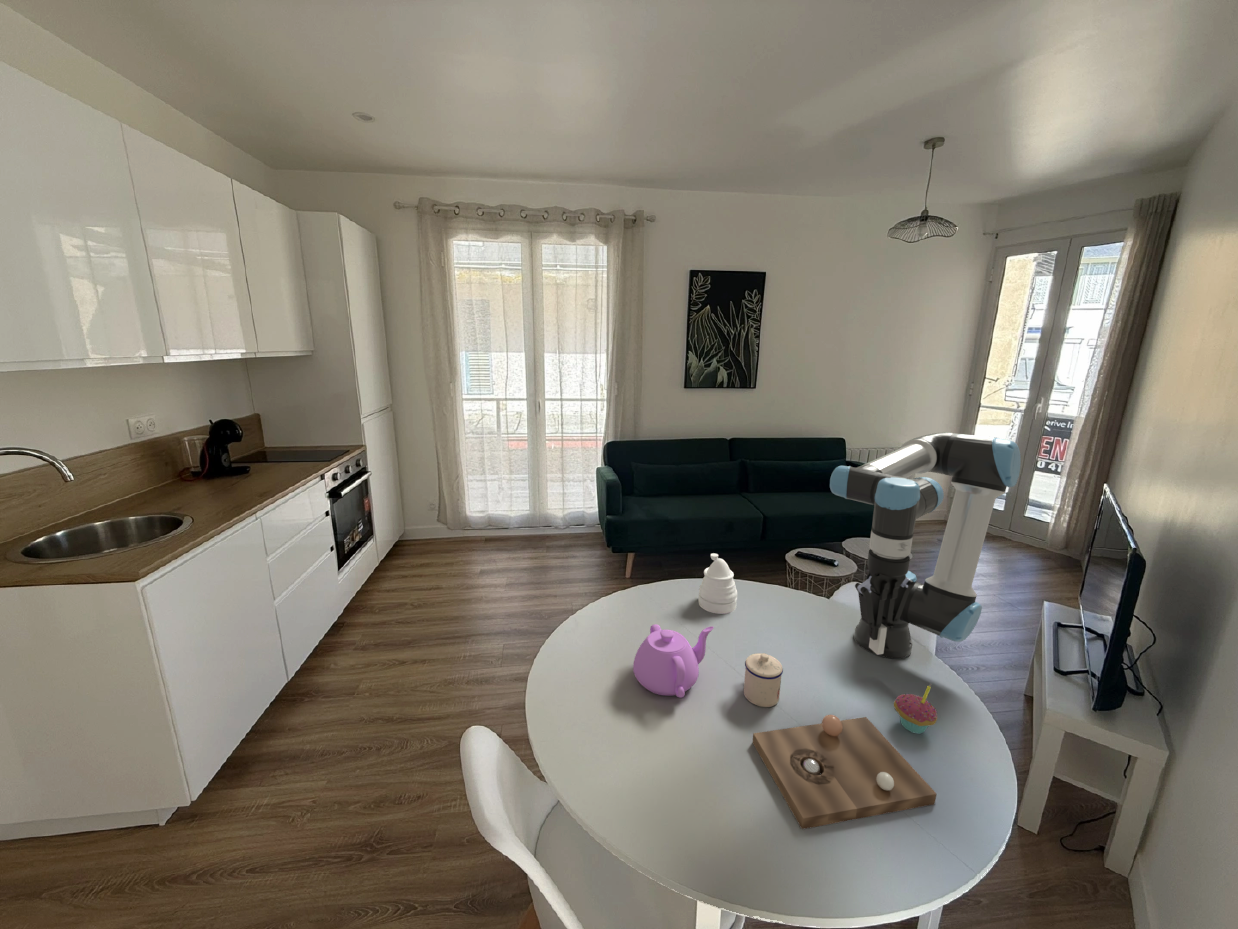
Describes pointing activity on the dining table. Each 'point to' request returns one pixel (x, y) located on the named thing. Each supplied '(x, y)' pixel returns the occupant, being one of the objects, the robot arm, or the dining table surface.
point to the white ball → (885, 781)
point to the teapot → (669, 661)
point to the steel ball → (811, 767)
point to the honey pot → (718, 588)
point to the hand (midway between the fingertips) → (876, 650)
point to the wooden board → (840, 773)
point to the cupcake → (915, 711)
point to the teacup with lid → (762, 679)
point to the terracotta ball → (832, 725)
